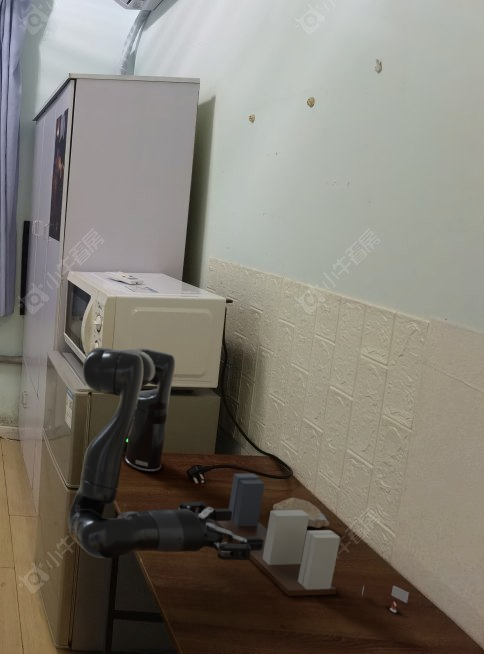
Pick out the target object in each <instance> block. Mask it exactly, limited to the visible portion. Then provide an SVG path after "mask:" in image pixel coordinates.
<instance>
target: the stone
mask: <svg viewBox="0 0 484 654" xmlns="http://www.w3.org/2000/svg"><path fill="white" fill-rule="evenodd" d="M275 510H302V511H304V512H305V513H307V514H308V515H309V520H308V525H307V527H312V528H315V529H320V528H324V527H329V526H330V522H329V519H328V518H327V516H326V515H325V514H324V513H323V512H322V511H321V509H320V508H318V507H317V506H316V505H315V504H313V503H312V502H310V501H309V500H304V499H301V498H296V497H289V498H287V499H284V500H281V501H280V502H278V503H274V504H273V506H272V511H275Z"/></svg>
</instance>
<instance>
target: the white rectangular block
mask: <svg viewBox="0 0 484 654" xmlns="http://www.w3.org/2000/svg"><path fill="white" fill-rule="evenodd" d="M308 520H309V515H308V514H307V513H305V512H304V511H302V510H275V511H273V510H270V511H269V519H268V523H267V535H266V541H265V547H264V553H263V560H264V561H266V562H267V563H268V564H269V565H286V564H301V559H302V556H303V550H304V545H305V540H306V534H307V531H308V526H307V525H308Z"/></svg>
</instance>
